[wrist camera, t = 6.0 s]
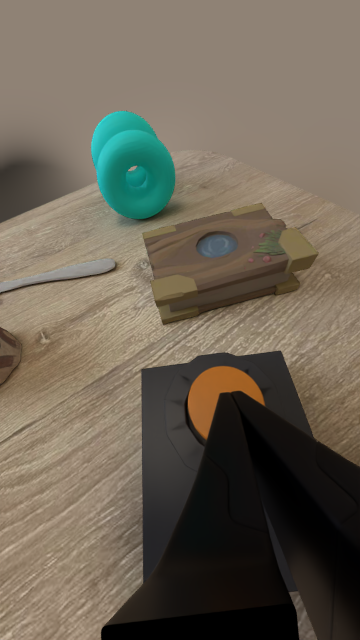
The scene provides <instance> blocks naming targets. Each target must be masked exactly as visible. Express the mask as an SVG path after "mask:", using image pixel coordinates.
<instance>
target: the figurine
mask: <svg viewBox="0 0 360 640" xmlns="http://www.w3.org/2000/svg"><path fill="white" fill-rule="evenodd" d="M21 349H22V345H21V344H20V343H19V342H18V341H17V339H16V338H14V337H13V336H12V335H11V334H9V333H8V331H7V330H4V329H3V328H1V327H0V385H1V384H2V383H3V382H4V381H5V380H6V378H7V377H8V376H9V375H10V373H11V371H12V370H13V369H14V368H15V367H16V366H17V365H18V364H19V362H20V359H21V356H20V355H21Z"/></svg>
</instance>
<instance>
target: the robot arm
mask: <svg viewBox="0 0 360 640" xmlns="http://www.w3.org/2000/svg"><path fill="white" fill-rule="evenodd" d="M261 499H262V500H261ZM262 502H263V504H264V507H265V509H266V512H267V514H268V517H269V519H270V522H271V524H272V527H273V529H274V532H275V534H276V537H277V539H278V542H279V544H280V547H281V549H282V552H283V554H284V557H285V559H286V562H287V564H288V567H289V569H290V572H291V574H292V577H293V579H294V582H295V584H296V587H297V589H298V592H299V594H300V597H301V599H302V602H303V604H304V607H305V609H306V612H307V614H308V617H309V619H310V622H311V624H312V627H313V629H314V632H315V634H316V636H317V639H318V640H360V467H359V466H357V465H356V464H354V463H352V462H350V461H349V460H347V459H346V458H344V457H342V456H341V455H339V454H338V453H336V452H335V451H333V450H331V449H330V448H328V447H327V446H325V445H324V444H322V443H321V442H319V441H318V442H317V440H316V439H314V438H313V437H311V436H310V435H308V434H307V433H305V432H304V431H302V430H301V429H299V428H298V427H296V426H294V425H293V424H291V423H290V422H288V421H287V420H285V419H284V418H282V417H281V416H279V415H278V414H276V413H275V412H273V411H272V410H270V409H268V408H267V407H265V406H264V405H262V404H261V403H259V402H258V401H256V400H255V399H253V398H252V397H250V396H249V395H247V394H246V393H244V392H243V391H240V390H239V391H232V392H231V393H230V392H223V393H220V394H219V397H218V401H217V404H216V408H215V412H214V415H213V419H212V423H211V426H210V430H209V433H208V437H207V441H206V444H205V448H204V451H203V455H202V458H201V462H200V465H199V469H198V472H197V475H196V478H195V481H194V483H193V486H192V488H191V491H190V493H189V496H188V498H187V501H186V503H185V505H184V507H183V510H182V512H181V514H180V517H179V519H178V521H177V523H176V526H175V528H174V530H173V533H172V535H171V537H170V539H169V542H168V544H167V546H166V548H165V551H164V553H163V555H162V557H161V559H160V561H159V562H158V564H157V566H156V567H155V569H154V571H153V572H152V573H151V575H150V576H149V578H148V579H147V580H146V581H145V582H144V583H143V584H142V585H141V587H140V588H139V589H138V590H137V591H136V592H135V593H134V594H133V595H132V596H131V597H130V598H129V600H128V601H127V602H126V603H125V604H124V605H123V606H122V607H121V608H120V609H119V610H118V611H117V613H116V614H115V615H114V616H113V617H112V618H111V619H110V620H109V621H108V622H107V623H106V624H105V625H104V627H103V628H102V630H101V640H299V632H298V622H297V613H296V609H295V607H294V604H293V602H292V599H291V597H290V594H289V592H288V589H287V587H286V584H285V582H284V579H283V577H282V574H281V572H280V569H279V566H278V563H277V559H276V556H275V553H274V549H273V545H272V541H271V538H270V533H269V529H268V525H267V520H266V516H265V512H264V508H263V504H262Z"/></svg>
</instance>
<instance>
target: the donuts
mask: <svg viewBox="0 0 360 640" xmlns="http://www.w3.org/2000/svg"><path fill="white" fill-rule="evenodd" d="M91 152H92V159H93V163H94V166H95V169H96V171H97V180H98V185H99V188H100V191H101V193H102V195H103V197H104V199H105V200H106V202H107V203H108V204H109V205H110V207H111V208H112V209H114V210H115V211H116V212H117V213H119V214H121V215H123V216H125V217H128V218H132V219H145V218H149V217H152V216H154V215H156V214H157V213H159V212H160V211H161V210H162V209H163V208H164V207H165V206H166V205H167V203H168V202H169V200H170V198H171V196H172V193H173V190H174V186H175V168H174V164H173V161H172V158H171V156H170V154H169V152H168V150H167V149H166V147H165V146H164V145H163V144H162V142H161V141H160V140H158V138H157V136H156V134H155V132H154V131H153V129H152V128H151V127H150V125H149V124H148V123H147V122H146V121H145V120H144V119H143V118H141V117H140V116H138V115H136V114H134V113H132V112H127V111H118V112H114V113H111V114H109V115H107V116H106V117H105V118H104V119H102V120H101V121H100V123H99V124H98V125H97V127H96V129H95V131H94V135H93V138H92V145H91ZM133 166H137V168H136V169H134V170H133V171H128V170H129V169H130V168H131V167H133Z"/></svg>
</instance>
